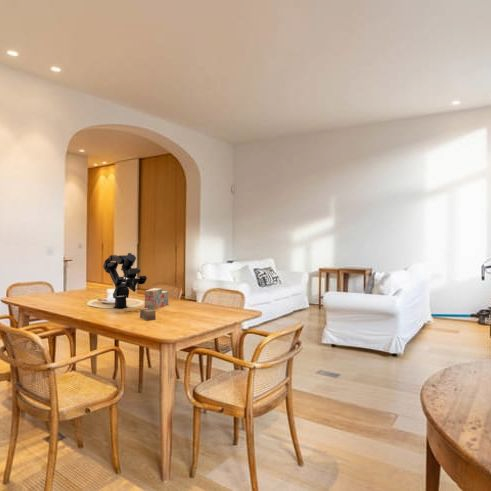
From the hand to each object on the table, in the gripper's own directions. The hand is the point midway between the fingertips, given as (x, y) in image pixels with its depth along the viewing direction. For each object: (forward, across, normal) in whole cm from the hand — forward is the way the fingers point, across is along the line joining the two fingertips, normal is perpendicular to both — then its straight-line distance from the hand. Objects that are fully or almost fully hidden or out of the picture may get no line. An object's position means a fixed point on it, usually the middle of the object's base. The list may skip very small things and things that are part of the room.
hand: (134, 291), depth 235 cm
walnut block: (+17, 0, -2) cm, 17 cm away
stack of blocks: (+1, +20, +18) cm, 27 cm away
